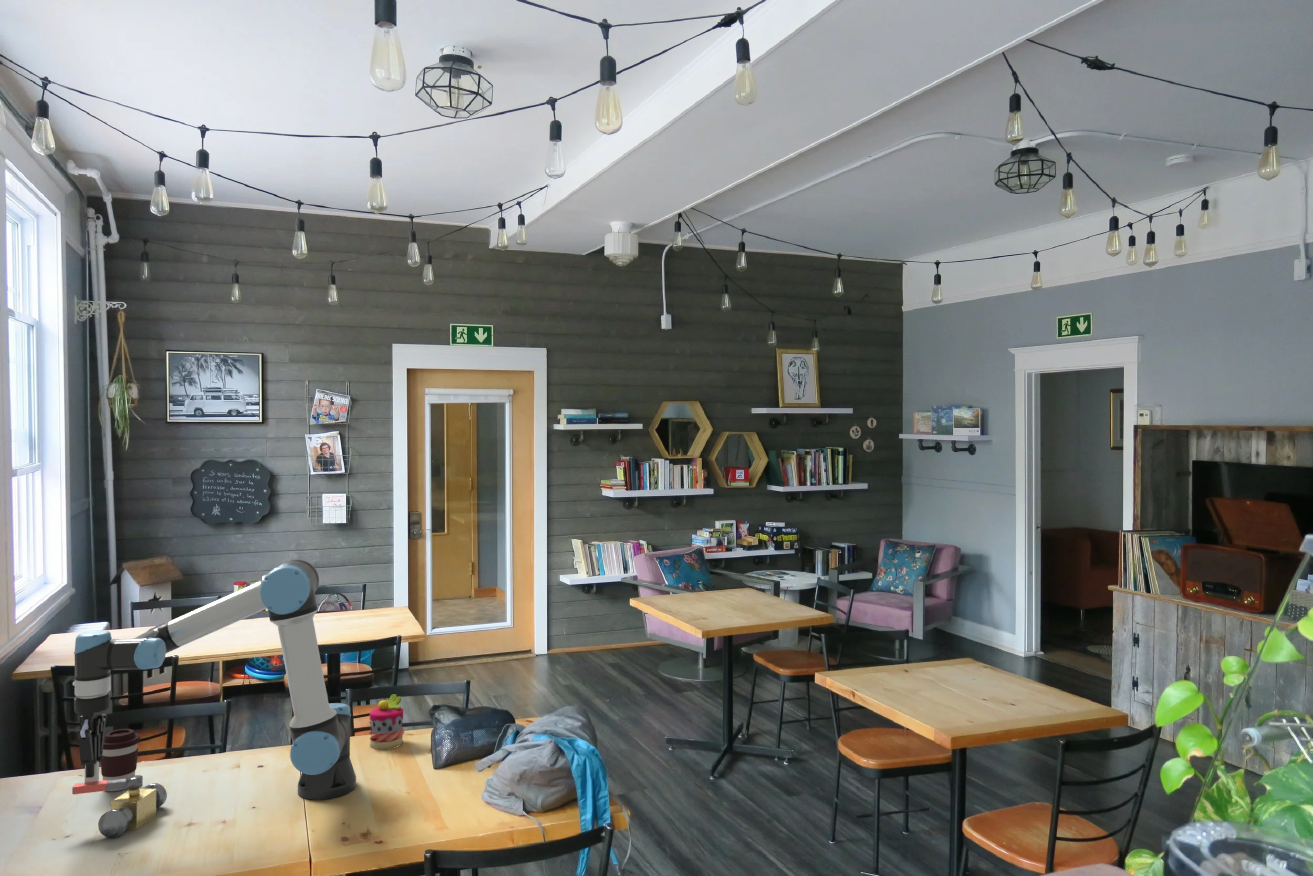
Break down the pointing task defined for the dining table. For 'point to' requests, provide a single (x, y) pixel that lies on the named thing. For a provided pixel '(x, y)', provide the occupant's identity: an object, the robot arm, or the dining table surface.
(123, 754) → the coffee cup
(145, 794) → the valve
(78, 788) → the lever
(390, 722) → the cake
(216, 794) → the dining table surface
